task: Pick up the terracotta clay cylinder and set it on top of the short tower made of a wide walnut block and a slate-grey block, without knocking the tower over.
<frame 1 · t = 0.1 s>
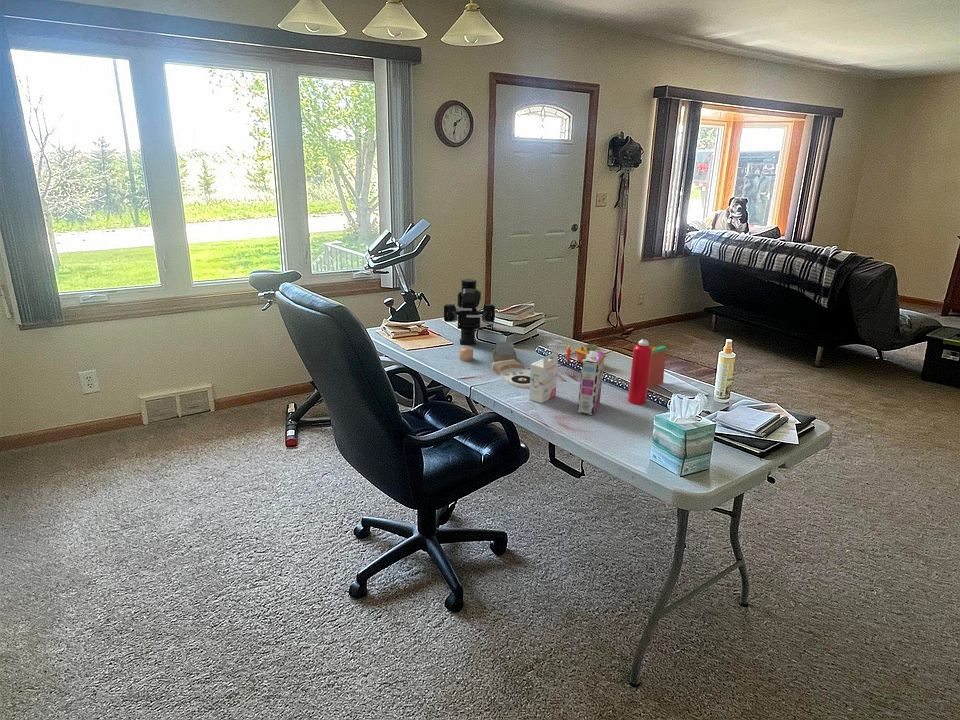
hand: (469, 318, 204), 17 cm above the table, fingers open, 9 cm apart
walnut block: (504, 361, 212), on the table, touching slate block
slate block: (504, 353, 211), point 3 cm above the table, touching walnut block
toy building block set: (609, 373, 203), on the table
bottle: (636, 401, 178), on the table
ink cartridge box: (542, 398, 180), on the table
candy bar box: (589, 408, 173), on the table
record player: (517, 378, 196), on the table
clay cylinder: (466, 359, 213), on the table
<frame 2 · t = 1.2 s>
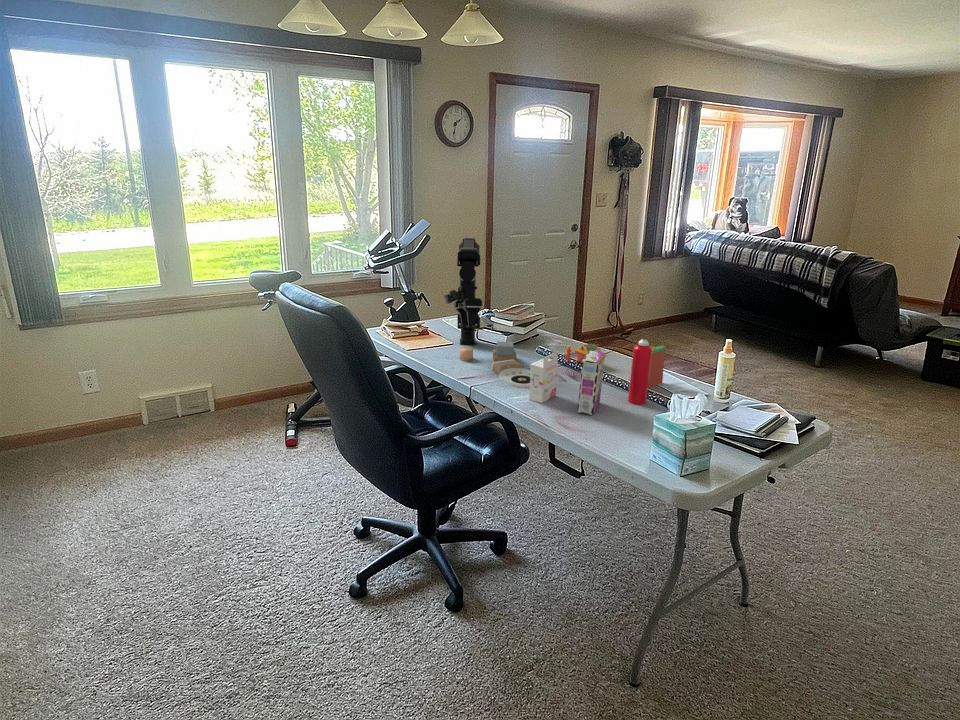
hand: (467, 327, 208), 13 cm above the table, fingers open, 9 cm apart
nothing on the table moved.
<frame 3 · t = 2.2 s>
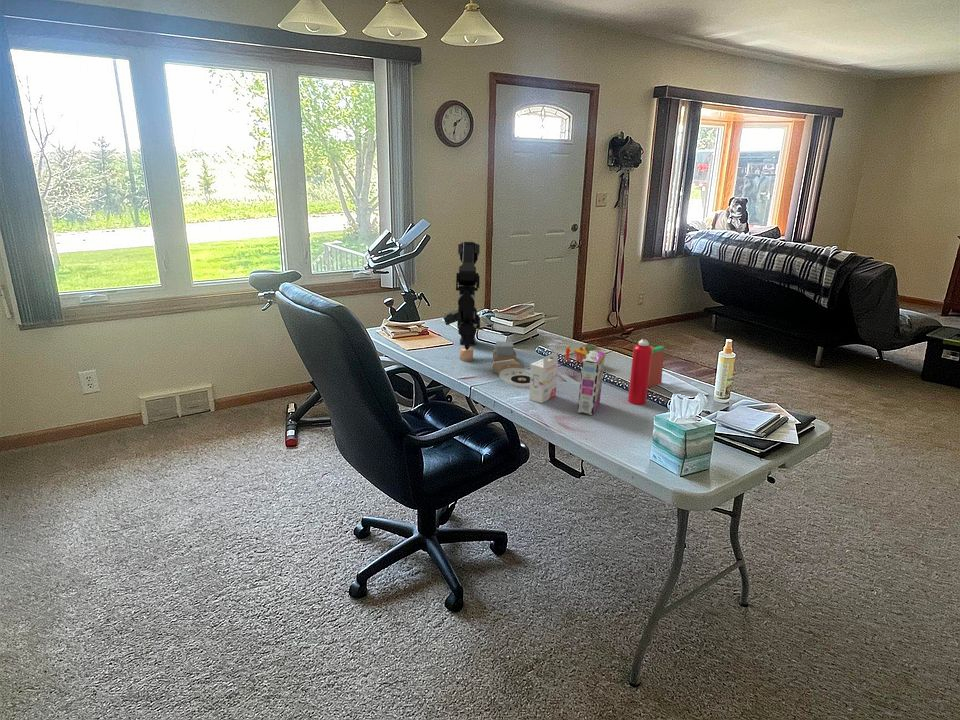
hand: (466, 345, 212), 5 cm above the table, fingers open, 9 cm apart
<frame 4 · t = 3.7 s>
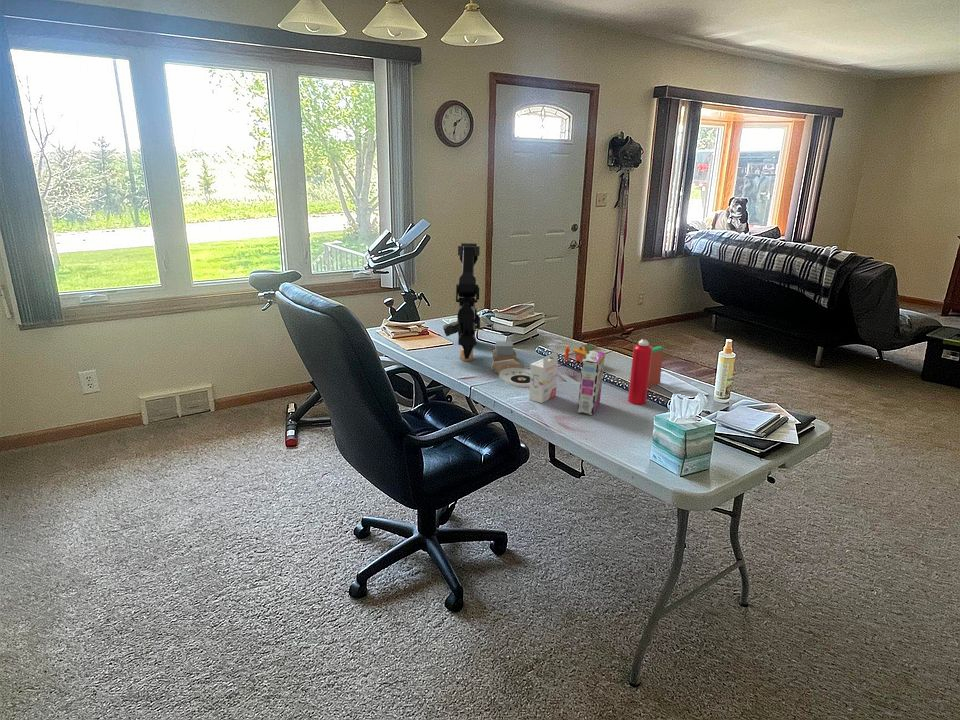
hand: (466, 356, 213), 1 cm above the table, fingers closed on clay cylinder, 5 cm apart
clay cylinder: (466, 359, 213), on the table, touching gripper
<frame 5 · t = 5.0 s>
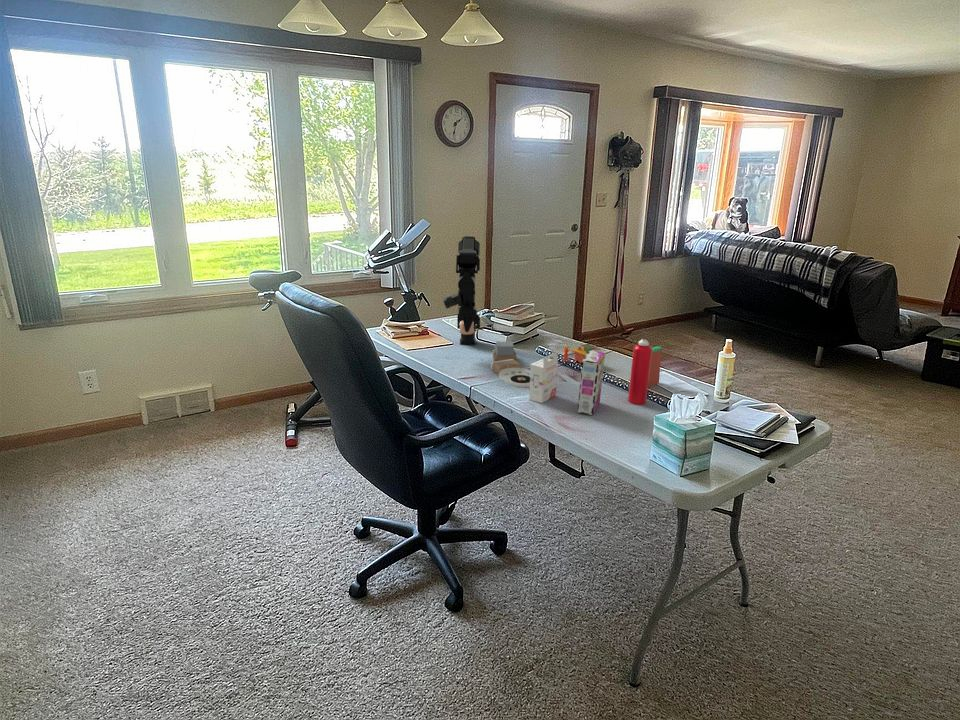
hand: (466, 329, 210), 11 cm above the table, fingers closed on clay cylinder, 5 cm apart
clay cylinder: (466, 332, 210), point 10 cm above the table, touching gripper
when the fingers open (9 cm above the table, at t = 7.4 s): clay cylinder drops 2 cm, point 7 cm above the table.
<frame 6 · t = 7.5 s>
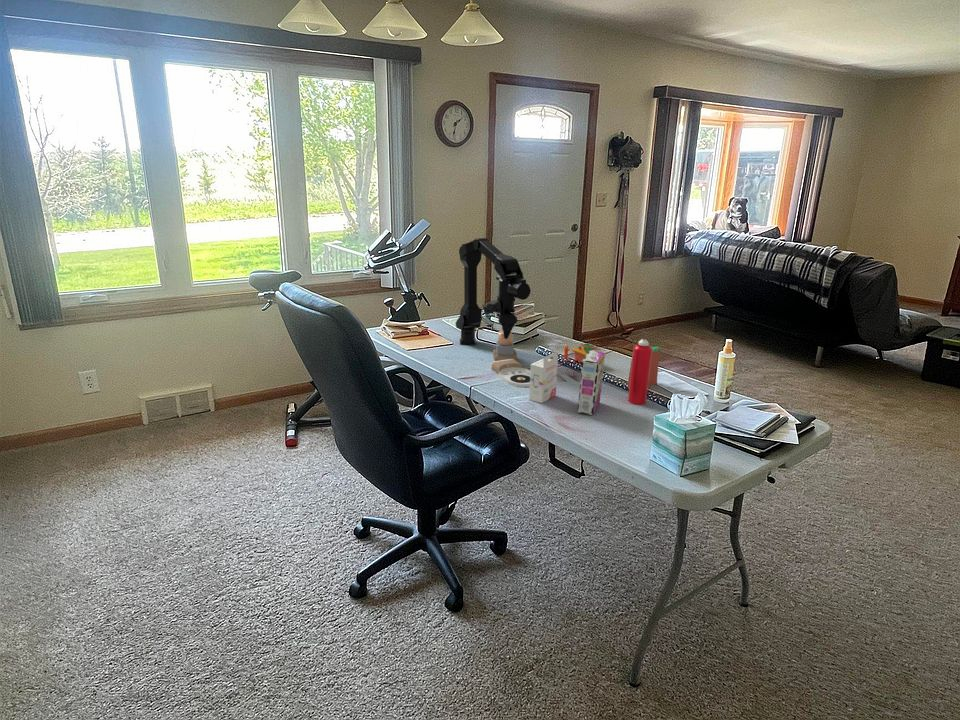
hand: (505, 336, 209), 9 cm above the table, fingers open, 6 cm apart
clay cylinder: (504, 342, 210), point 7 cm above the table
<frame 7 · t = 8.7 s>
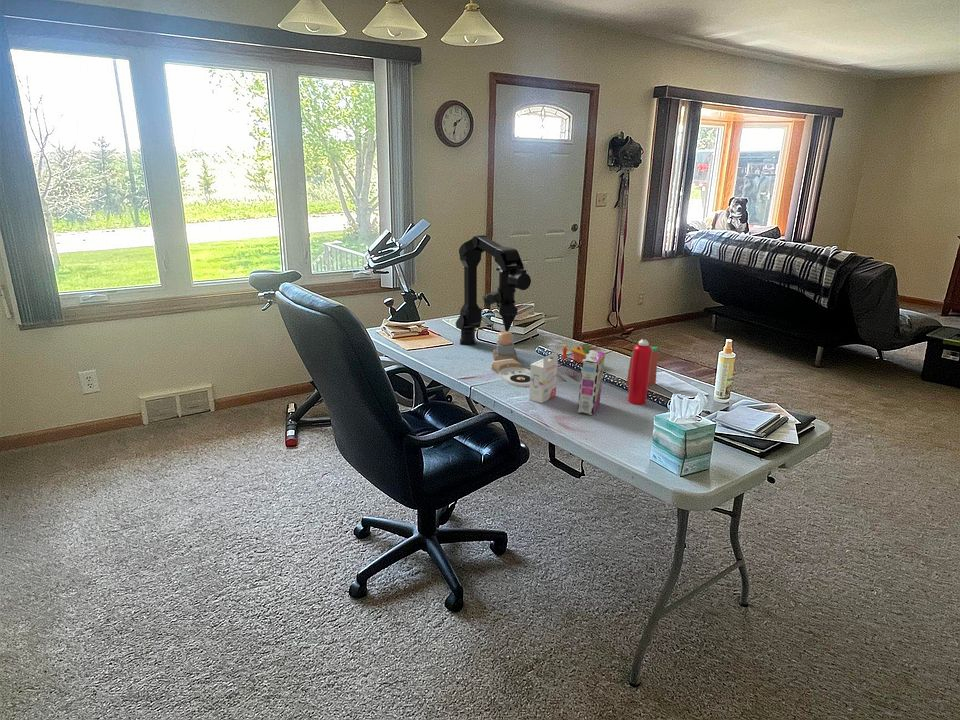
hand: (505, 327, 208), 13 cm above the table, fingers open, 9 cm apart
slate block: (505, 352, 212), point 3 cm above the table, touching clay cylinder, walnut block
clay cylinder: (505, 343, 210), point 7 cm above the table, touching slate block
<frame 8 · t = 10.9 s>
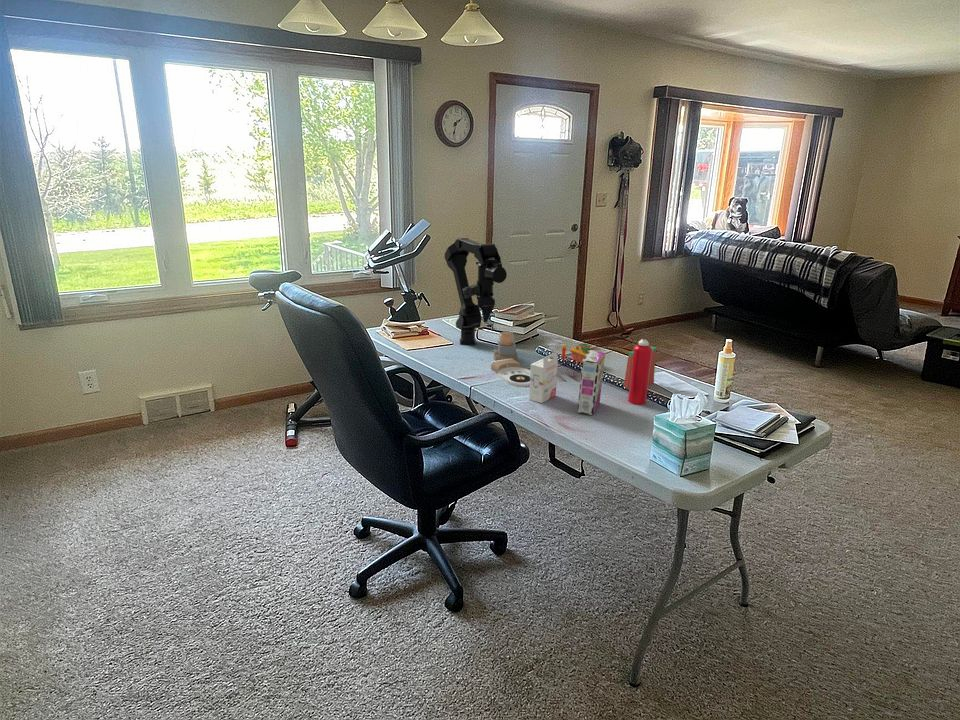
hand: (484, 319, 218), 13 cm above the table, fingers open, 9 cm apart
slate block: (506, 353, 211), point 3 cm above the table, touching walnut block
clay cylinder: (506, 344, 210), point 6 cm above the table
at the end: clay cylinder 0.4 cm off-centre on the slate block, point 3.5 cm above the slate block's base; slate block moved 1.0 cm from its start; clay cylinder tilted 0° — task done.
